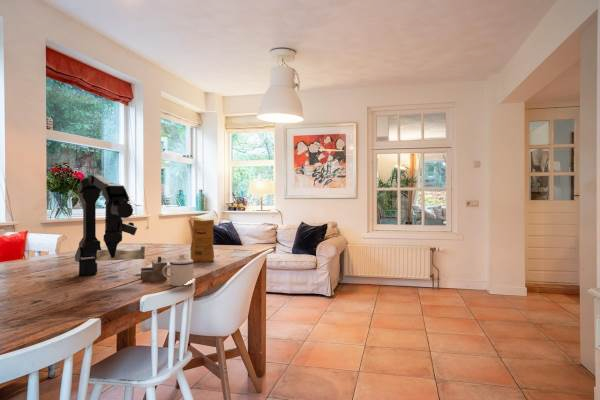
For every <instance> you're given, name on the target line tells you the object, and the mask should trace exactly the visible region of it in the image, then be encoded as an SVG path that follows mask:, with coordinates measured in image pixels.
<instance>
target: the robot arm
mask: <svg viewBox="0 0 600 400" xmlns="http://www.w3.org/2000/svg"><path fill="white" fill-rule="evenodd" d="M76 189H77V193H78V198H79V200H80V201H81V202H82V222H83V223H82V235H83V236H82V238H81V239H80V241H79V243H78V247H77V249H76V252H75V254H74V261H75V262H78V263H79V264H78V277H83V276H84V277H85V276H96V275H97V273H98V262H97V250H103V249H102V248H101V241H100V240H99V239H98V237H97V236H96V235H97V234H96V229H97V227H96V221H97V220H96V217H97V216H96V213H97V212H96V207H97V206H96V205H97V204H96V203H97V202H98V200H99V198H100V197H101V195H102V196H103V198H104V200H105V202H104V205H105V214H104V215H105V219H104V222H105V223H104V226H105V227H104V235H103V242H104V243H105V246H106V250H108V251H109V253H110V256H111V258H114V257H115V253H116V250H117V247H118V245H119V244H120V243H121V242H122V241H123V232H124V233H127V234H130V235H131V236H135V234H136V232H137V230H138V227H137V226H135V224H134V223H135V222H131V221H130V222H128V223H125V222H123V219H128V218H130V217H131V216H132V215H133V212H134V209H133V206H132V205H131V204H130V203H129V202H130V197H129V195H128V192H127V190H126V188H125V186H124V184H121V183H115V182H111V180H109V179H107V178H105V177H104V175H102V174H89V175H88V177H86V178H83V179H82V180H81V181H80V182H79V183H78V185H77V188H76Z"/></svg>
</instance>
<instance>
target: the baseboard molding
mask: <svg viewBox="0 0 600 400" xmlns="http://www.w3.org/2000/svg"><path fill="white" fill-rule="evenodd" d="M164 259H165V261H166V262H167V265H170V261H169V260H167V259H166V258H161V260H164ZM147 267H152V263H149V265H146V267H144V268H147ZM167 269H170V267H167ZM132 276H134V277H135V276H139V277H141V269H140V270H139V271H137V272H136V273H134V274H133V275H132Z"/></svg>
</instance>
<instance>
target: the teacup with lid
mask: <svg viewBox="0 0 600 400" xmlns="http://www.w3.org/2000/svg"><path fill="white" fill-rule="evenodd" d="M169 262H170V265H166V266H164V267H163V274H164V276H165V277H167V279H169V285H170V286H173V287H183V286H182V285H184V284H186V283H187V282H188V281H190V280H192V279H193V280H194V263H195V262H193V260H192V259H191V258H189V257H188V256H185V254H184V253H180V254H178V256H177V257H176V258H174V259H171V260H169ZM166 267H169V275H168V273H167V274H166V273H165V268H166Z"/></svg>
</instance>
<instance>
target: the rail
mask: <svg viewBox="0 0 600 400" xmlns="http://www.w3.org/2000/svg"><path fill="white" fill-rule="evenodd" d="M145 247H146V246H145V245H140V248H129V249H128V248H125V249H120V248H119V249H116V253H115V257H114V258H111V256H110V253H109V251H108V249H102V250H97V260H96V262H101V261H102V262H104V261H123V260H124V261H125V260H126V261H127V260H145V255H146V252H145Z"/></svg>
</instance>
